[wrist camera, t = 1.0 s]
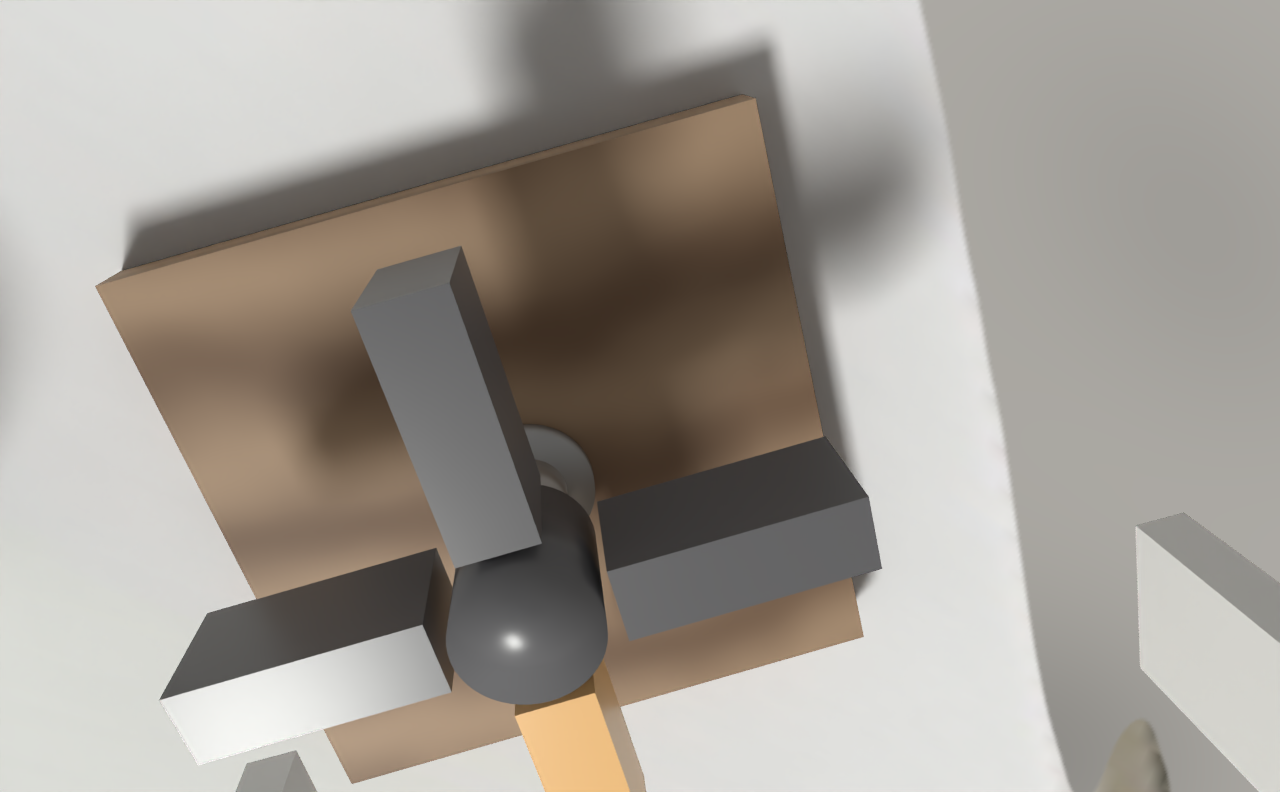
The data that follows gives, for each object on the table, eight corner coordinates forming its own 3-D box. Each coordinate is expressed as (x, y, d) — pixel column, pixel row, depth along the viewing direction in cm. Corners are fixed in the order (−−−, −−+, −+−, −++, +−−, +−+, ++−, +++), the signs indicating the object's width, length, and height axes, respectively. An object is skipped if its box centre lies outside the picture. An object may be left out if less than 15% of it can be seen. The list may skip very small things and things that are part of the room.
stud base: (120, 270, 31) (32, 323, 26) (742, 94, 31) (787, 108, 26) (360, 748, 40) (332, 865, 34) (848, 608, 40) (899, 702, 34)
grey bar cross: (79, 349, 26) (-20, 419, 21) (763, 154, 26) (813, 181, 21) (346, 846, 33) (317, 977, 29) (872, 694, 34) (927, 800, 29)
